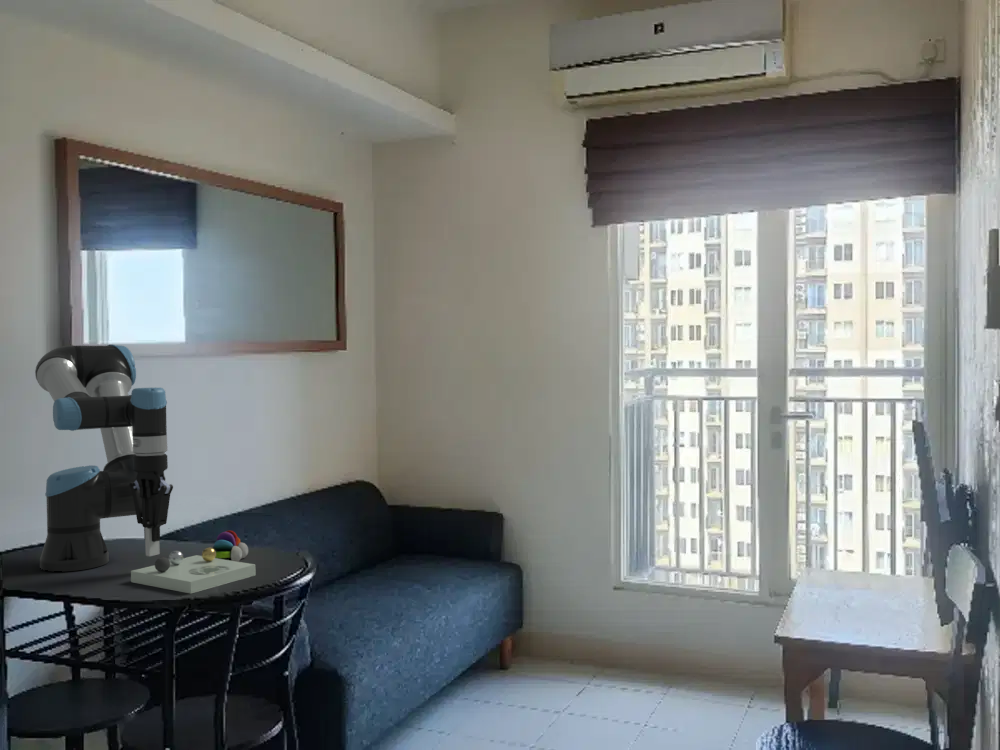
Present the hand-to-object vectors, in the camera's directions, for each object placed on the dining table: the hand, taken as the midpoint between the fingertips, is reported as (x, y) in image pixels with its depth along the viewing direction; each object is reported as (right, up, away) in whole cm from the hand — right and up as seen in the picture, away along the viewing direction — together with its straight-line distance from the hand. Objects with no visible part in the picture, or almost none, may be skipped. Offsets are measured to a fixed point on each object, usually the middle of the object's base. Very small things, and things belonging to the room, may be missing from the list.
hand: (152, 554), depth 213 cm
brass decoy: (+13, 0, -1) cm, 14 cm away
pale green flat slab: (+12, -4, -7) cm, 15 cm away
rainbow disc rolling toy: (+14, -4, +11) cm, 18 cm away
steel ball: (+7, 0, -4) cm, 8 cm away
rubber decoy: (+6, 0, -11) cm, 13 cm away
